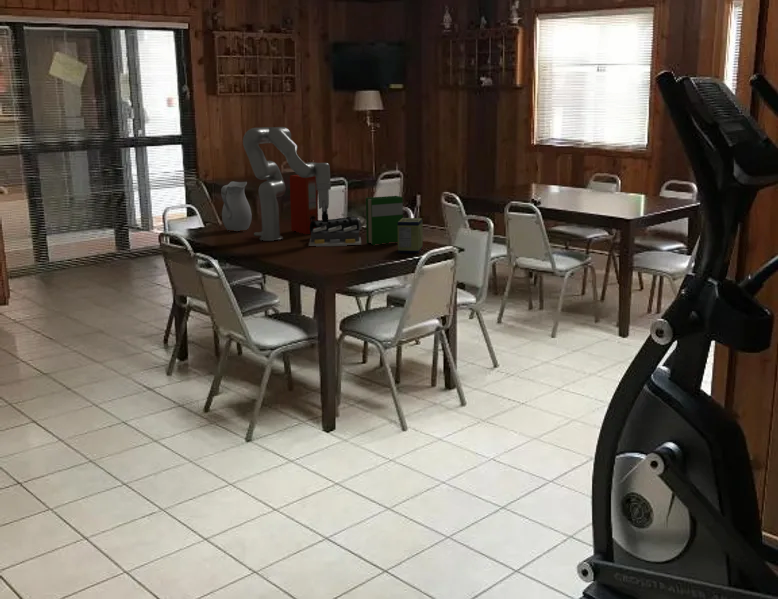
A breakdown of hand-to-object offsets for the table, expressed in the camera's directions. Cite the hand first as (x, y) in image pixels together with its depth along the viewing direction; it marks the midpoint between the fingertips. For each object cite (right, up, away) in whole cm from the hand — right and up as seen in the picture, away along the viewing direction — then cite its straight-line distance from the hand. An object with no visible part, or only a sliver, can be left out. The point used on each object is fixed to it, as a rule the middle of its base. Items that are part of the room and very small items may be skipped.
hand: (325, 221), depth 444 cm
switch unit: (+5, -11, +2) cm, 12 cm away
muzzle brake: (+4, -6, +23) cm, 24 cm away
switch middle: (+5, -4, +1) cm, 6 cm away
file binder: (-14, -3, +38) cm, 41 cm away
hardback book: (+31, -11, -1) cm, 33 cm away
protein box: (+44, -17, -24) cm, 53 cm away
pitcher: (-56, -2, +45) cm, 71 cm away
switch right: (+13, -3, +2) cm, 14 cm away
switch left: (-3, -4, +1) cm, 5 cm away
